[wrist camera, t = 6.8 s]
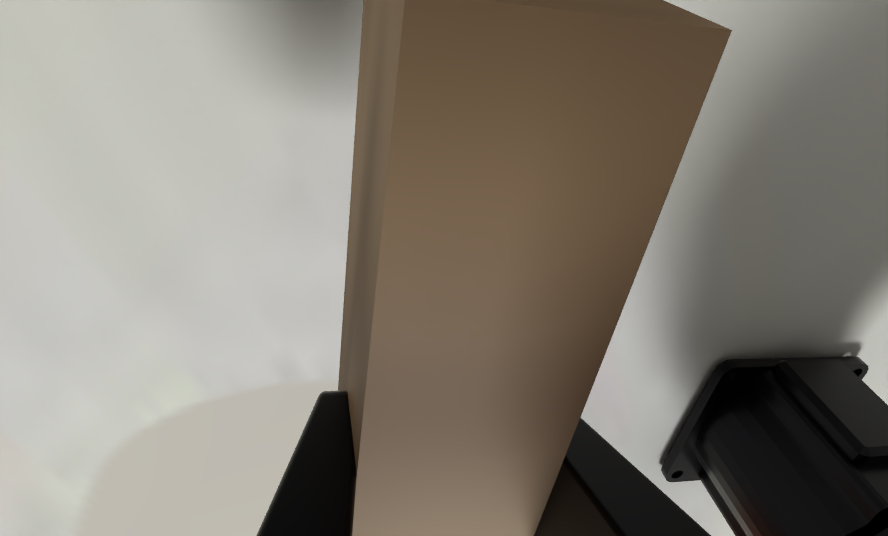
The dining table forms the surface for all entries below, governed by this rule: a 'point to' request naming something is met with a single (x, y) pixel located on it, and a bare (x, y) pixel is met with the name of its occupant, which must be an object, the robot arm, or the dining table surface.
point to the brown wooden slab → (499, 238)
